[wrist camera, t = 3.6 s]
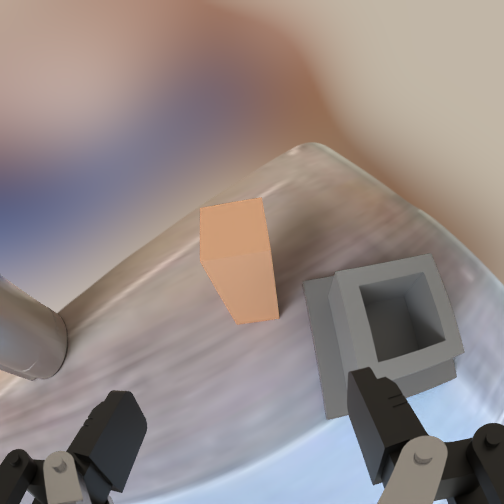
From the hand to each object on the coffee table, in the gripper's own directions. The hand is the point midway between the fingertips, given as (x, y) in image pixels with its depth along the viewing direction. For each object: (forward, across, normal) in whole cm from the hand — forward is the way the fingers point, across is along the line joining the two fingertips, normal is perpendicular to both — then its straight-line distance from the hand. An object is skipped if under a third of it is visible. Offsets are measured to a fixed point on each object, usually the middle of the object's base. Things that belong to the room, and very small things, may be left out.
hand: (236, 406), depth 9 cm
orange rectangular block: (+18, 0, +4) cm, 18 cm away
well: (+14, -11, +7) cm, 19 cm away
